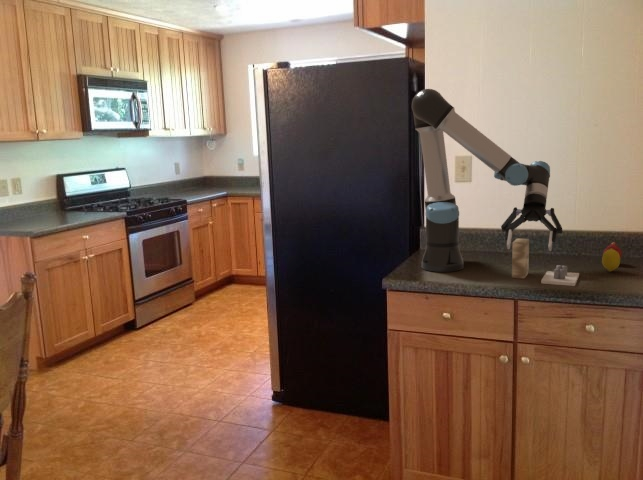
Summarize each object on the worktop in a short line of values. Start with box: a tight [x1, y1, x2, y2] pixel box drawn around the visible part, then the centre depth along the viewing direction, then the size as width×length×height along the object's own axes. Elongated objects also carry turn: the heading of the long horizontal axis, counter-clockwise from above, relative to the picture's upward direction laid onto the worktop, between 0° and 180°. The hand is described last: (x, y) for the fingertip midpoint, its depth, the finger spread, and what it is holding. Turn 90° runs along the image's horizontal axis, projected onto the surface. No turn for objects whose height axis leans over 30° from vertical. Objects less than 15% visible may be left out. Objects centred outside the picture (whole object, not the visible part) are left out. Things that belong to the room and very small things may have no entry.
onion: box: [603, 242, 623, 259], centre depth 211 cm, size 6×6×8 cm
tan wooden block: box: [511, 238, 530, 279], centre depth 200 cm, size 4×8×12 cm, turn 152°
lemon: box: [601, 249, 621, 273], centre depth 200 cm, size 6×6×8 cm
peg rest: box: [540, 264, 580, 287], centre depth 192 cm, size 10×14×4 cm
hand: (528, 248), depth 202 cm, fingers open, 13 cm apart
